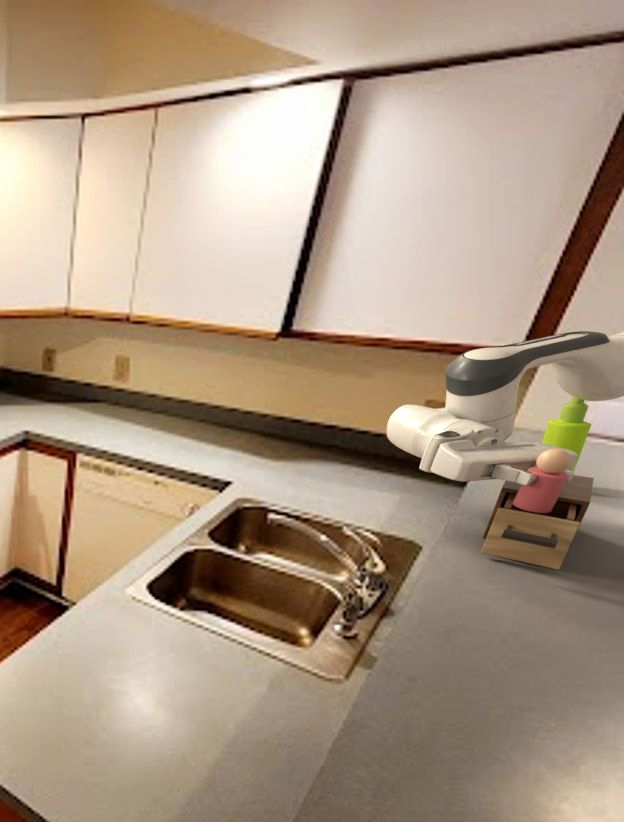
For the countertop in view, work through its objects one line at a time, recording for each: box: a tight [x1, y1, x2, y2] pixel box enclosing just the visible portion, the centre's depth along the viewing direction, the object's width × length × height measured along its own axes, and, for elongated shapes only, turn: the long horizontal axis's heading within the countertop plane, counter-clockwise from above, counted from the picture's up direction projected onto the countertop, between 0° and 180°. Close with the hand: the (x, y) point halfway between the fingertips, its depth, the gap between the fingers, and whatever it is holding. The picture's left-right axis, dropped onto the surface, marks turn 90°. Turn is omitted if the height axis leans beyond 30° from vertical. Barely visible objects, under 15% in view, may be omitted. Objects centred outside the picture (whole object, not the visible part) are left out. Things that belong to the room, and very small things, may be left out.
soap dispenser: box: [541, 396, 592, 474], centre depth 123 cm, size 6×7×20 cm
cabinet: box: [482, 474, 594, 556], centre depth 107 cm, size 14×10×9 cm
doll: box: [513, 449, 572, 513], centre depth 97 cm, size 5×5×10 cm
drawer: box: [480, 493, 581, 571], centre depth 100 cm, size 18×9×8 cm, turn 134°
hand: (550, 479), depth 96 cm, fingers closed on doll, 4 cm apart
